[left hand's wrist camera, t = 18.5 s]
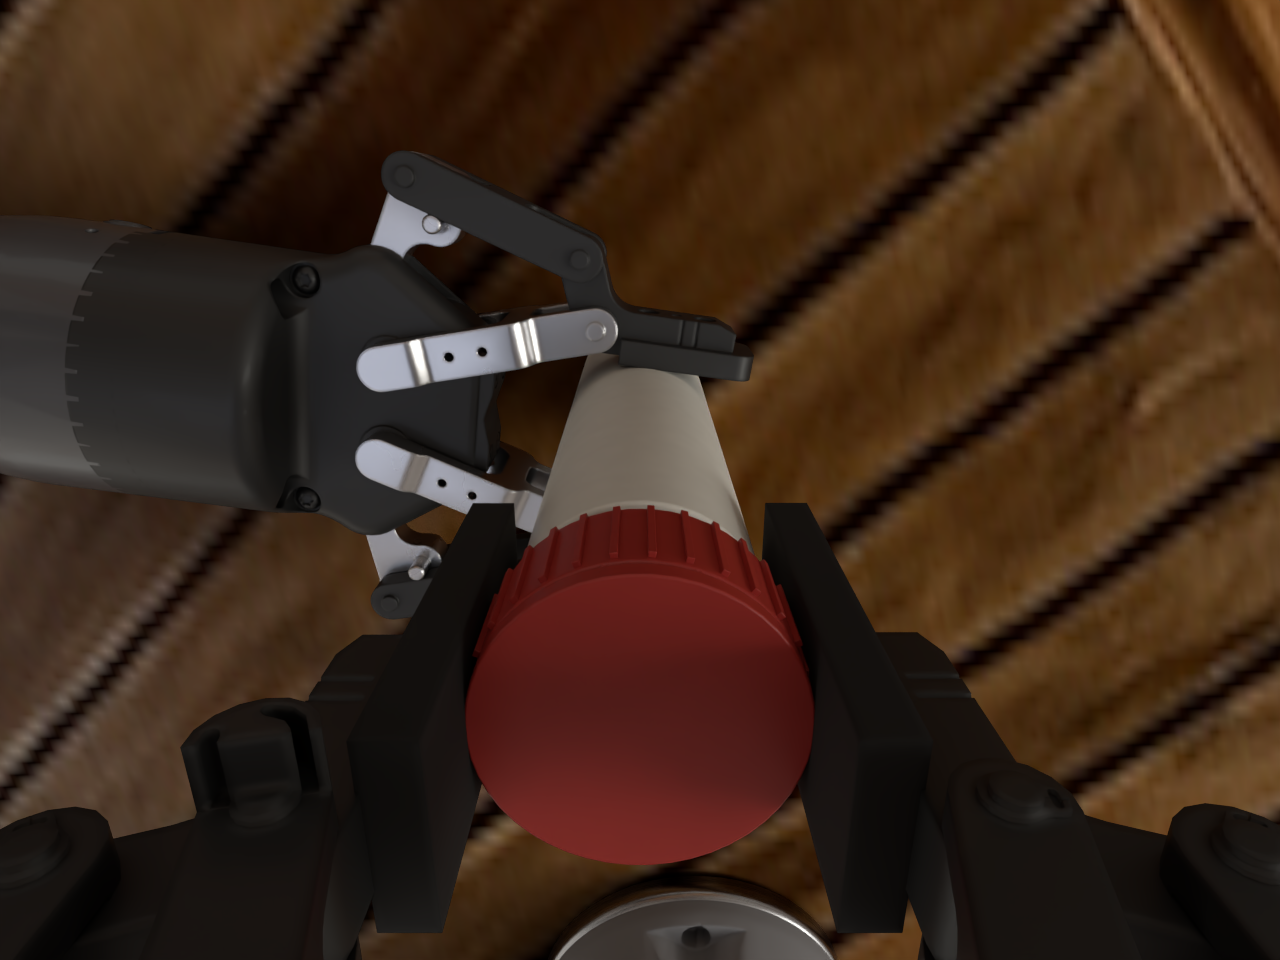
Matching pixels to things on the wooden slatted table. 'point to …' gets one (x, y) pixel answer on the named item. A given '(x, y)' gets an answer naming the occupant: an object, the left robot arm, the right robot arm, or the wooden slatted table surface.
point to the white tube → (638, 451)
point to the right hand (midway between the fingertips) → (729, 442)
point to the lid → (639, 690)
